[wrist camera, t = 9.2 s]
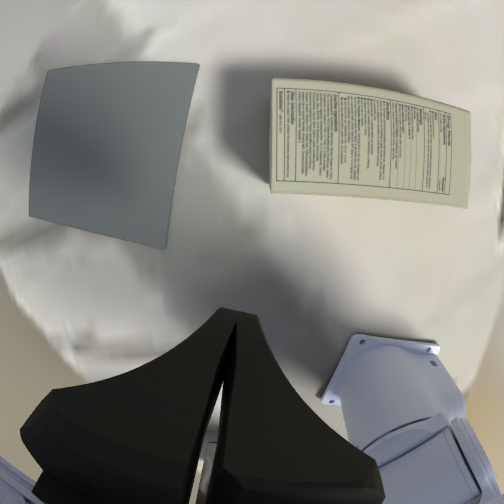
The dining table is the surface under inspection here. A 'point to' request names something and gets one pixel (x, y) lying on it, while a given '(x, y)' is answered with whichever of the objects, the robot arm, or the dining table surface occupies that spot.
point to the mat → (111, 147)
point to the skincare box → (367, 143)
